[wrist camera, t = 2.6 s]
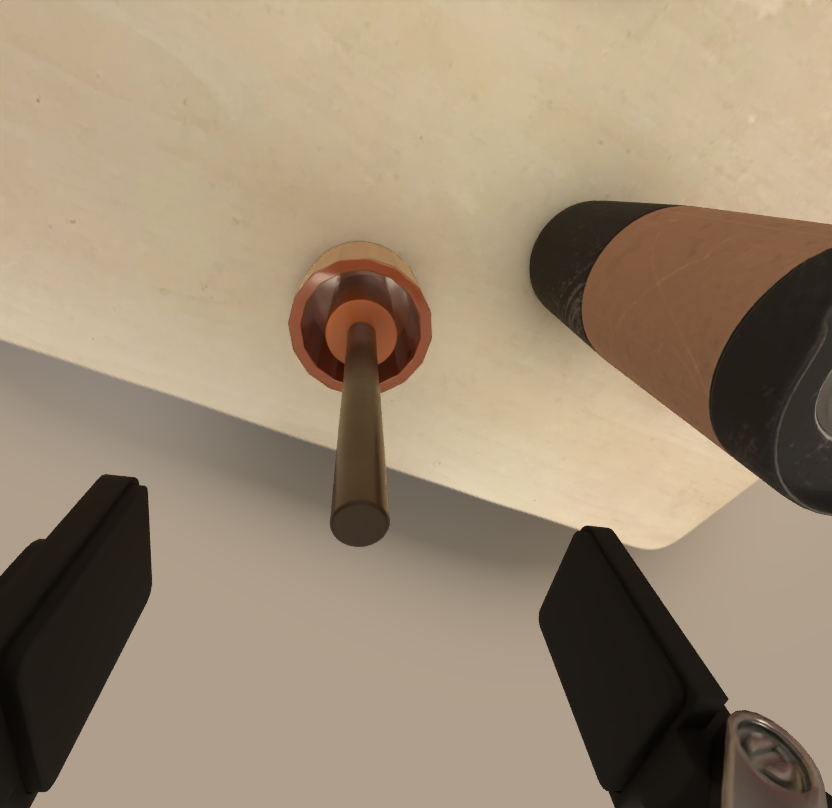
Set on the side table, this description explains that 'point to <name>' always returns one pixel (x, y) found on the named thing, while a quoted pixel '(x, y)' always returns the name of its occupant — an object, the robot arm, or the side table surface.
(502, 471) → the side table surface
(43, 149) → the side table surface
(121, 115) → the side table surface
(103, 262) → the side table surface
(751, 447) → the travel mug
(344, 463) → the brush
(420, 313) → the holder
